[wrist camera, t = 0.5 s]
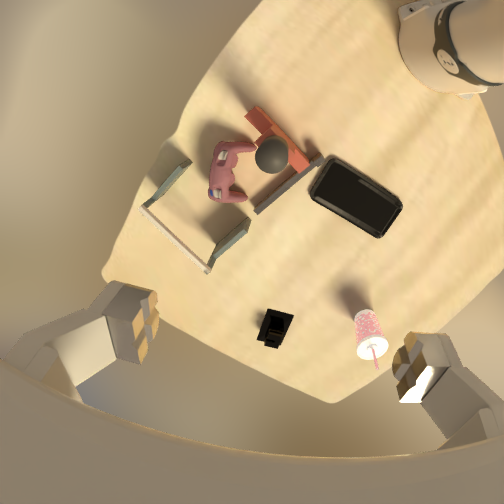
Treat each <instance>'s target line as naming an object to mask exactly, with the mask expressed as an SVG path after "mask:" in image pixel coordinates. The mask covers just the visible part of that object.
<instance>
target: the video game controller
mask: <svg viewBox="0 0 504 504" xmlns="http://www.w3.org/2000/svg"><path fill="white" fill-rule="evenodd" d="M256 149H257V147H256V146H255V145H254V144H251V143H247V142H224V141H221V142H219V143H218V144H217V145H216V147H215V149H214V154H213V157H214V158H213V161H212V164H211V169H210V177H209V189H208V196H209V198H210V199H212V200H214V201H217V202H228V203H231V202H244V201H246V200H247V199H248V196H247V195H245V194H243V193H240V192H236V191H229V188H230V187H231V186H232V185H233V183H234V181H235V176H234V174H232V168H234V167H235V166H236V164H237V161H238V157H237V155H236V154H237V153H241V152H252V151H255V150H256Z"/></svg>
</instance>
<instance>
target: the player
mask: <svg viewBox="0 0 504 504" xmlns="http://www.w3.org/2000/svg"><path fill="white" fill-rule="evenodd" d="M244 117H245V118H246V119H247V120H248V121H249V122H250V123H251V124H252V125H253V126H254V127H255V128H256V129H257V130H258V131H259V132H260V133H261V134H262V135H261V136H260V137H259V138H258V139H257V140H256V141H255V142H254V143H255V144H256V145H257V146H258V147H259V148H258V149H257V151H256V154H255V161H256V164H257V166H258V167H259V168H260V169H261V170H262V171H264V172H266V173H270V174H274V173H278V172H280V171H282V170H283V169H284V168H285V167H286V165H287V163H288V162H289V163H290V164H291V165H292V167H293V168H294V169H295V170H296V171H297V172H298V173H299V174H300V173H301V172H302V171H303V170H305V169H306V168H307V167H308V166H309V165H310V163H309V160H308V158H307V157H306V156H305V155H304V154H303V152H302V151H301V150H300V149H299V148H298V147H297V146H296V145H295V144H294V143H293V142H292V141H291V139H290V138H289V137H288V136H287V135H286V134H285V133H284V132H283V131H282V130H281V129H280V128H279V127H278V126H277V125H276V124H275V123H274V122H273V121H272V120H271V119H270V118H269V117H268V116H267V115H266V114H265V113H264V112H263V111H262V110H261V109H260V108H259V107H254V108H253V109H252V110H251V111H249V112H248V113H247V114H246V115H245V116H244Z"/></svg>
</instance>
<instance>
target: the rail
mask: <svg viewBox="0 0 504 504" xmlns="http://www.w3.org/2000/svg"><path fill="white" fill-rule="evenodd" d="M325 161H326V160H325V159H324V157H323V156H322V155H321V154H320V152H319V153H318V154H317V155H316V156H315V157H313V158H312V159H311V160H310V161H309V163H310V165H309V166H308V167H307V168H306V169H305V170H303V171H302V172H301V173H300V174H299V173H298V172H295V173H294V174H293V175H292V176H291V177H289V178H288V179H287V180H286V181H285V182H284V183H282V184H281V185H280V186H279V187H278V188H277V189H275V190H274V191H273V192H272V193H271V194H270V195H268V196H267V197H266V198H265V199H264V200H263V201H261V202H260V203H259V204H258V205H257V206H256V207H255V208H254V212H255V213H256V214H257V215H258V214H259V213H261V212H262V211H263V210H264V209H265V208H267V207H268V206H269V205H270V204H271V203H272V202H274V201H275V200H276V199H277V198H278V197H280V196H281V195H282V194H283V193H284V192H285V191H287V190H288V189H289V188H290V187H291V186H293V185H294V184H295V183H296V182H297V181H299V180H300V179H301V178H302V177H303V176H305V175H306V174H307V173H308V172H309V171H311V170H312V169H313V168H314V167H315V166H317V167H319V166H320V165H321V164H322V163H324V162H325Z"/></svg>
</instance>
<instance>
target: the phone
mask: <svg viewBox="0 0 504 504" xmlns="http://www.w3.org/2000/svg"><path fill="white" fill-rule="evenodd" d="M310 197H311V199H312V200H313V201H315V202H316V203H318V204H320V205H322V206H323V207H325V208H327V209H329V210H330V211H332V212H334V213H335V214H337V215H339V216H341V217H342V218H344V219H346V220H347V221H349V222H351V223H352V224H354V225H356V226H357V227H359V228H360V229H362V230H364V231H365V232H367V233H369V234H370V235H372V236H373V237H375V238H381V237H383V236H384V235H385V233H386V232H387V230H388V229H389V228H390V226H391V225H392V223H393V222H394V220H395V219H396V218H397V216H398V215H399V213H400V212H401V210H402V208H403V204H402V202H401V201H400V200H398V199H397V198H396V197H395V196H394V195H391V193H389V192H388V191H386V190H385V189H384V188H382V187H380V186H378V185H377V184H375V183H374V182H372V181H371V180H369V179H368V178H366V177H365V176H363V175H362V174H360V173H359V172H357V171H356V170H354V169H352V168H351V167H349V166H348V165H346V164H345V163H343V162H341V161H340V160H338V159H331V160H329V161H328V163H327V165H326V166H325V168H324V170H323V171H322V173H321V174H320V176H319V178H318V179H317V181H316V183H315V184H314V186H313V188H312V189H311V191H310Z"/></svg>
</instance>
